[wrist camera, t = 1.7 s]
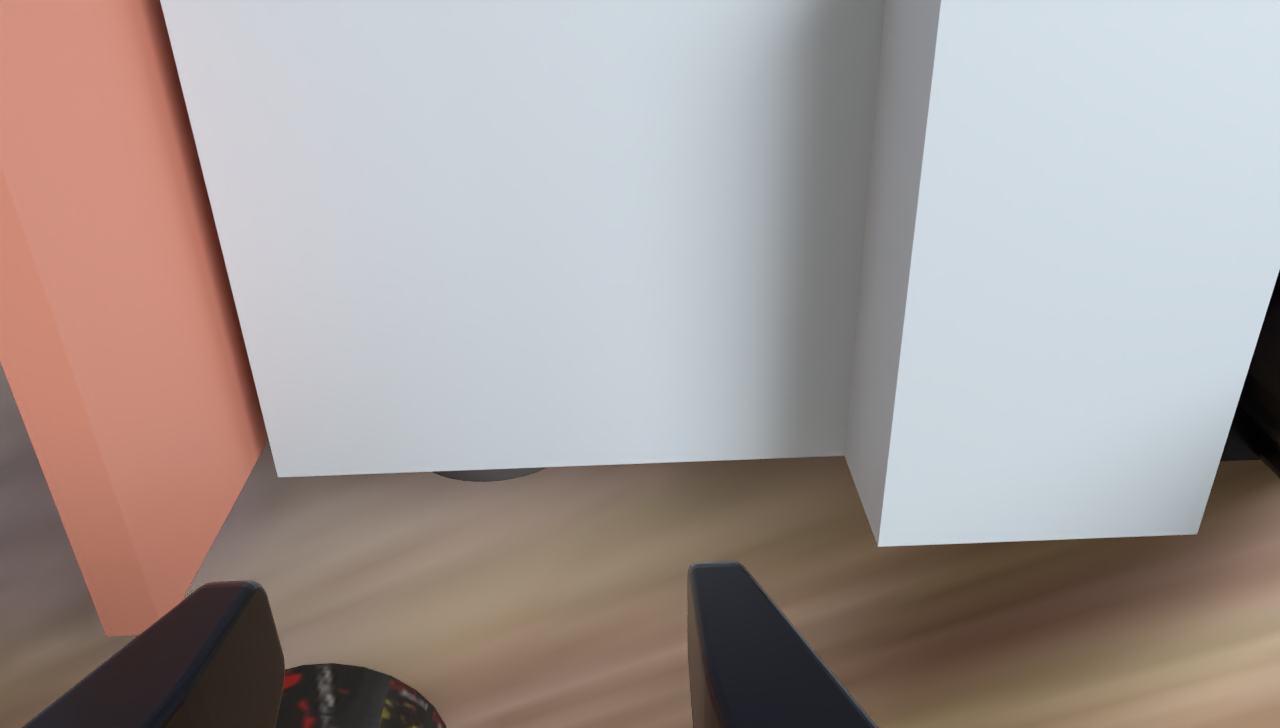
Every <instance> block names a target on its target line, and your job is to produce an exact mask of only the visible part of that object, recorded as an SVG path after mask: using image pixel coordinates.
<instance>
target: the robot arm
mask: <svg viewBox="0 0 1280 728" xmlns="http://www.w3.org/2000/svg"><path fill="white" fill-rule="evenodd" d="M1260 459H1261V460H1262V461H1263V462H1264V463H1265V464H1266V465H1267V466H1268V467H1269V468H1270V469H1271V470H1272V471H1273V472H1274V473H1275V474H1276V475H1277V476H1278V477H1279V478H1280V270H1279V273H1278V276H1277V280H1276V283H1275V286H1274V289H1273V292H1272V296H1271V299H1270V302H1269V305H1268V308H1267V312H1266V315H1265V318H1264V321H1263V324H1262V328H1261V331H1260V334H1259V337H1258V340H1257V344H1256V347H1255V350H1254V353H1253V357H1252V360H1251V363H1250V366H1249V369H1248V373H1247V376H1246V379H1245V382H1244V385H1243V389H1242V392H1241V395H1240V398H1239V401H1238V405H1237V408H1236V411H1235V414H1234V417H1233V421H1232V424H1231V427H1230V430H1229V434H1228V437H1227V440H1226V443H1225V446H1224V450H1223V453H1222V456H1221V459H1220V461H1234V460H1260ZM687 599H688V663H689V678H690V691H691V705H692V719H693V728H878V727H877V725H876V724H875V723H874V722H873V721H872V719H871V718H870V717H869V716H868V715H867V713H866V712H865V711H864V710H863V709H862V707H861V706H860V705H859V704H858V703H857V701H856V700H855V699H854V698H853V697H852V695H851V694H850V693H849V692H848V691H847V689H846V688H845V687H844V686H843V685H842V683H841V682H840V681H839V680H838V679H837V677H836V676H835V675H834V674H833V673H832V671H831V670H830V669H829V668H828V667H827V665H826V664H825V663H824V662H823V661H822V659H821V658H820V657H819V656H818V655H817V653H816V652H815V651H814V650H813V649H812V647H811V646H810V645H809V644H808V643H807V641H806V640H805V639H804V638H803V637H802V635H801V634H800V633H799V632H798V631H797V629H796V628H795V627H794V626H793V625H792V623H791V622H790V621H789V620H788V619H787V617H786V616H785V615H784V614H783V613H782V611H781V610H780V609H779V608H778V607H777V605H776V604H775V603H774V602H773V601H772V599H771V598H770V597H769V596H768V595H767V593H766V592H765V591H764V590H763V589H762V587H761V586H760V585H759V584H758V583H757V581H756V580H755V579H754V578H753V577H752V575H751V574H750V573H749V572H748V571H747V569H746V568H745V567H744V566H743V565H742V564H740V563H738V562H735V561H721V562H697V563H694V564H692V565H691V566H690V568H689V569H688V578H687ZM284 677H285V664H284V656H283V652H282V648H281V645H280V641H279V637H278V634H277V630H276V626H275V623H274V619H273V616H272V612H271V608H270V605H269V601H268V597H267V595H266V592H265V590H264V589H263V587H262V586H261V585H260V584H259V583H257V582H255V581H227V582H212V583H207V584H205V585H203V586H201V587H200V588H198V589H197V590H196V591H194V592H193V593H192V594H190V595H189V596H188V597H187V598H185V599H184V600H183V601H182V602H180V603H179V604H178V605H177V606H175V607H174V608H173V609H171V610H170V611H169V612H168V613H166V614H165V615H164V616H163V617H161V618H160V619H159V620H157V621H156V622H155V623H154V624H152V625H151V626H150V627H149V628H147V629H146V630H145V631H144V632H142V633H141V634H140V635H138V636H137V637H136V638H135V639H133V640H132V641H131V642H130V643H128V644H127V645H126V646H125V647H123V648H122V649H121V650H119V651H118V652H117V653H116V654H114V655H113V656H112V657H111V658H109V659H108V660H107V661H106V662H104V663H103V664H102V665H100V666H99V667H98V668H97V669H95V670H94V671H93V672H92V673H90V674H89V675H88V676H87V677H85V678H84V679H83V680H81V681H80V682H79V683H78V684H76V685H75V686H74V687H73V688H71V689H70V690H69V691H68V692H66V693H65V694H64V695H62V696H61V697H60V698H59V699H57V700H56V701H55V702H54V703H52V704H51V705H50V706H49V707H47V708H46V709H45V710H43V711H42V712H41V713H40V714H38V715H37V716H36V717H35V718H33V719H32V720H31V721H30V722H28V723H27V724H26V725H24V726H23V727H22V728H275V726H276V721H277V716H278V711H279V706H280V702H281V697H282V692H283V686H284Z"/></svg>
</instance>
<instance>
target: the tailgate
mask: <svg viewBox="0 0 1280 728" xmlns="http://www.w3.org/2000/svg"><path fill="white" fill-rule="evenodd" d="M0 362H1V365H2V367H3V370H4V373H5V375H6V378H7V380H8V383H9V386H10V388H11V391H12V393H13V396H14V399H15V401H16V404H17V406H18V409H19V411H20V414H21V417H22V419H23V422H24V424H25V427H26V430H27V432H28V435H29V437H30V440H31V443H32V445H33V448H34V450H35V453H36V456H37V458H38V461H39V463H40V466H41V468H42V471H43V474H44V476H45V479H46V481H47V484H48V487H49V489H50V492H51V494H52V497H53V500H54V502H55V505H56V507H57V510H58V512H59V515H60V518H61V520H62V523H63V525H64V528H65V531H66V533H67V536H68V538H69V541H70V544H71V546H72V549H73V551H74V554H75V557H76V559H77V562H78V564H79V567H80V569H81V572H82V575H83V577H84V580H85V582H86V585H87V588H88V590H89V593H90V595H91V598H92V601H93V603H94V606H95V608H96V611H97V614H98V616H99V619H100V621H101V624H102V626H103V629H104V632H105V634H106V636H129V635H140V634H141V633H142V632H144V631H145V630H146V629H147V628H149V627H150V626H151V625H152V624H154V623H155V622H156V621H157V620H159V619H160V618H161V617H163V616H164V615H165V614H166V613H168V612H169V611H170V610H171V609H173V608H174V607H175V606H177V605H178V604H179V603H180V602H181V601H182V600H183V598H184V596H185V594H186V592H187V590H188V588H189V587H190V585H191V583H192V581H193V579H194V577H195V575H196V574H197V572H198V570H199V568H200V566H201V564H202V562H203V561H204V559H205V557H206V555H207V553H208V551H209V549H210V548H211V546H212V544H213V542H214V540H215V538H216V536H217V535H218V533H219V531H220V529H221V527H222V525H223V523H224V521H225V520H226V518H227V516H228V514H229V512H230V510H231V508H232V507H233V505H234V503H235V501H236V499H237V497H238V495H239V494H240V492H241V490H242V488H243V486H244V484H245V482H246V481H247V479H248V477H249V475H250V473H251V471H252V469H253V468H254V466H255V464H256V462H257V460H258V458H259V456H260V455H261V453H262V451H263V449H264V447H265V445H266V443H267V442H268V440H269V439H268V435H267V431H266V427H265V423H264V419H263V414H262V410H261V406H260V402H259V398H258V394H257V390H256V386H255V382H254V378H253V374H252V370H251V366H250V362H249V358H248V354H247V350H246V346H245V342H244V338H243V334H242V329H241V325H240V321H239V317H238V313H237V309H236V305H235V301H234V297H233V293H232V289H231V285H230V281H229V277H228V273H227V269H226V265H225V261H224V257H223V253H222V249H221V244H220V240H219V236H218V232H217V228H216V224H215V220H214V216H213V212H212V208H211V204H210V200H209V196H208V192H207V188H206V184H205V180H204V176H203V172H202V168H201V164H200V159H199V155H198V151H197V147H196V143H195V139H194V135H193V131H192V127H191V123H190V119H189V115H188V111H187V107H186V103H185V99H184V95H183V91H182V87H181V83H180V79H179V74H178V70H177V66H176V62H175V58H174V54H173V50H172V46H171V42H170V38H169V34H168V30H167V26H166V22H165V18H164V14H163V10H162V6H161V2H160V0H0Z"/></svg>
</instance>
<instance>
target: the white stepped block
mask: <svg viewBox="0 0 1280 728" xmlns="http://www.w3.org/2000/svg"><path fill="white" fill-rule="evenodd" d="M160 2H161V6H162V10H163V14H164V18H165V22H166V26H167V30H168V34H169V38H170V42H171V46H172V50H173V54H174V58H175V62H176V66H177V70H178V74H179V79H180V83H181V87H182V91H183V95H184V99H185V103H186V107H187V111H188V115H189V119H190V123H191V127H192V131H193V135H194V139H195V143H196V147H197V151H198V155H199V159H200V164H201V168H202V172H203V176H204V180H205V184H206V188H207V192H208V196H209V200H210V204H211V208H212V212H213V216H214V220H215V224H216V228H217V232H218V236H219V240H220V244H221V249H222V253H223V257H224V261H225V265H226V269H227V273H228V277H229V281H230V285H231V289H232V293H233V297H234V301H235V305H236V309H237V313H238V317H239V321H240V325H241V329H242V334H243V338H244V342H245V346H246V350H247V354H248V358H249V362H250V366H251V370H252V374H253V378H254V382H255V386H256V390H257V394H258V398H259V402H260V406H261V410H262V414H263V419H264V423H265V427H266V431H267V435H268V439H269V443H270V447H271V451H272V455H273V459H274V463H275V467H276V471H277V475H278V477H302V476H328V475H354V474H381V473H407V472H433V473H436V474H438V475H441V476H444V477H448V478H452V479H457V480H463V481H500V480H507V479H513V478H517V477H522V476H526V475H529V474H532V473H535V472H538V471H540V470H543V469H545V468H548V467H564V466H590V465H616V464H643V463H669V462H695V461H721V460H747V459H774V458H800V457H826V456H845V459H846V462H847V464H848V467H849V470H850V472H851V475H852V478H853V481H854V483H855V486H856V489H857V491H858V494H859V497H860V499H861V502H862V505H863V508H864V510H865V513H866V516H867V518H868V521H869V524H870V527H871V529H872V532H873V535H874V537H875V540H876V543H877V545H878V547H886V546H911V545H936V544H962V543H987V542H1012V541H1038V540H1063V539H1088V538H1114V537H1139V536H1165V535H1190V534H1197V533H1198V530H1199V527H1200V523H1201V520H1202V517H1203V514H1204V511H1205V507H1206V504H1207V501H1208V498H1209V494H1210V491H1211V488H1212V485H1213V482H1214V478H1215V475H1216V472H1217V469H1218V466H1219V462H1220V459H1221V456H1222V453H1223V450H1224V446H1225V443H1226V440H1227V437H1228V434H1229V430H1230V427H1231V424H1232V421H1233V417H1234V414H1235V411H1236V408H1237V405H1238V401H1239V398H1240V395H1241V392H1242V389H1243V385H1244V382H1245V379H1246V376H1247V373H1248V369H1249V366H1250V363H1251V360H1252V357H1253V353H1254V350H1255V347H1256V344H1257V340H1258V337H1259V334H1260V331H1261V328H1262V324H1263V321H1264V318H1265V315H1266V312H1267V308H1268V305H1269V302H1270V299H1271V296H1272V292H1273V289H1274V286H1275V283H1276V280H1277V276H1278V273H1279V270H1280V0H160Z"/></svg>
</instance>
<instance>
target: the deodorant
mask: <svg viewBox="0 0 1280 728" xmlns="http://www.w3.org/2000/svg"><path fill="white" fill-rule="evenodd" d="M275 728H446V726H445V724H444V722H443V721H442V719H441V717H440V716H439V714H438V712H437V711H436V709H435V707H434V706H433V705H431V704H430V703H429V702H428V701H427V700H426V699H425V698H424V697H423V696H422V695H421V694H419V693H418V692H417V691H416V690H415V689H413V688H411V687H409V686H408V685H406V684H404V683H402V682H400V681H399V680H397V679H395V678H393V677H392V676H388V675H385V674H382V673H379V672H376V671H373V670H370V669H367V668H364V667H356V666H348V665H340V664H318V665H303V666H299V667H295V668H292V669H288V670H285V677H284V686H283V692H282V697H281V702H280V706H279V711H278V716H277V721H276V726H275Z"/></svg>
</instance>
